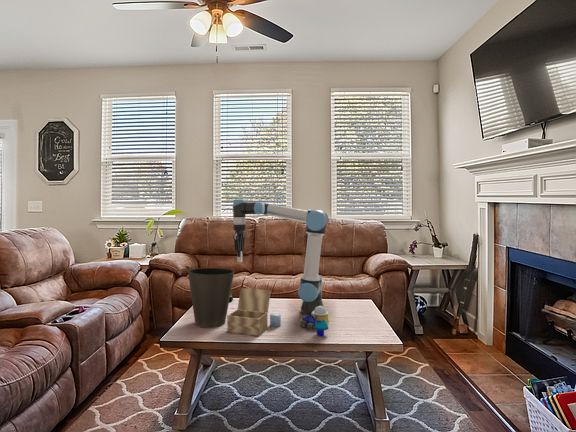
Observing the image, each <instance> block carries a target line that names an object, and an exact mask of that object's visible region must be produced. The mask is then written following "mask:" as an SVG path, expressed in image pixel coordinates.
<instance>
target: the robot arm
mask: <svg viewBox="0 0 576 432" xmlns="http://www.w3.org/2000/svg"><path fill="white" fill-rule="evenodd" d="M232 205H233V206H232V215H233V216H232V217H233V218H232V220H233V221H232V222H233V226H232V227H233V231H234V232H235V235H233V237H232V238H233V242H234V251H235V252H236V254H237V256H236V258H237V260H236V262H237V263H243V252H244V251H245V241H246V236H247V235H246V234H245V232H244V231H246V224H247V223H246V219H247V218H246V215H260V216H261V215H263V216H264V215H265V216H269V217H275V218H278V219H279V218H280V219H283V220H284V219H286V220H290V221H295V222H300V223H305V225H306V228H305V233H306V234H307V239H306V240H307V242H306V250H305V260H304V266H303V267H304V268H303V274H302V275H301V276H300V279H299V280H300V282H299V287H298V289H297V294H298V297H299V299H301V301H302V302H301V305H300V313H302V314H303V315H311V313H312V312H313V311H314V310H315V308H316V307H317V306H323V307H324V308H325V306H324V303H323V300H322V299H323V297H322V296H323V294H322V293H323V292H322V291H323V287H322V286H323V278H322V276H321V275H319V270H320V260H321V253H322V244H323V243H322V241H323V236H325V235H326V232H327V231H326V230H327V225H328V223H329V216H328V213H326V211H324V210H321V209H307V210H305V209H301V208H293V207H288V206H282V205H277V204H271V203H265V202H263V201H262V202H261V201H255V202H253V201H252V202H249V201H248V202H246V199H244V198H243V199H242V198H240V199H239V198H238V199H237V198H236V199H233V200H232Z"/></svg>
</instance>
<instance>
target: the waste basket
mask: <svg viewBox="0 0 576 432" xmlns="http://www.w3.org/2000/svg"><path fill="white" fill-rule="evenodd" d="M187 274H188V275H187V276H188V280H189V289H190V297H191V303H192V308H193V309H192V310H193V318H194V323H195V325H196V326H197V327H199V328H205V329H208V328H209V329H211V328H213V329H214V328H218V327H222V326H223V325H225V323H226V322H227V316H228V310H229V304H230V302H229V298H230V294H232V291H231V290H232V285H233V281H234V280H233V279H234V275H235V270H233V269H230V268H219V267H200V268H199V267H198V268H191V269H188V270H187Z"/></svg>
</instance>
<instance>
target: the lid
mask: <svg viewBox="0 0 576 432" xmlns="http://www.w3.org/2000/svg"><path fill="white" fill-rule="evenodd" d="M271 293H272V291H271V289H261V288H260V289H259V288H257V289H256V288H247V287H246V288H245V287H240V291H239V297H238V304H237V308H236V309H237V310H245V311H255V312H265V313H269V307H270V299H271Z"/></svg>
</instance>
